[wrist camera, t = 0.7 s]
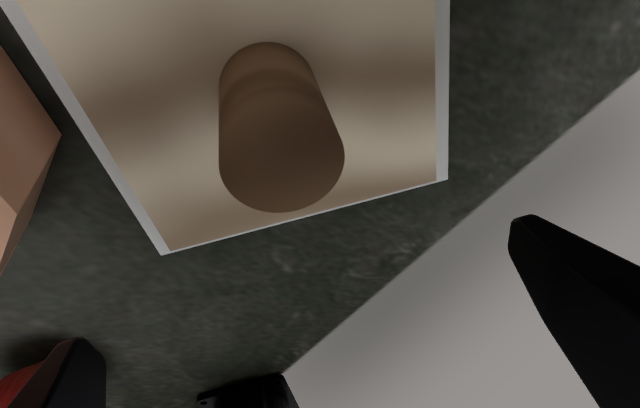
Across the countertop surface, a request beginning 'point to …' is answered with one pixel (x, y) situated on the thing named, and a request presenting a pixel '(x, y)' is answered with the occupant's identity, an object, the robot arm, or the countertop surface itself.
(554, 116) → the countertop surface
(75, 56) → the board
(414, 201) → the countertop surface
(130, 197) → the mat
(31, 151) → the octagonal clay planter
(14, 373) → the onion
